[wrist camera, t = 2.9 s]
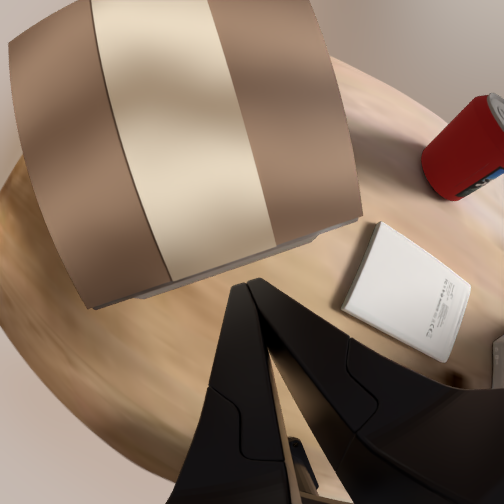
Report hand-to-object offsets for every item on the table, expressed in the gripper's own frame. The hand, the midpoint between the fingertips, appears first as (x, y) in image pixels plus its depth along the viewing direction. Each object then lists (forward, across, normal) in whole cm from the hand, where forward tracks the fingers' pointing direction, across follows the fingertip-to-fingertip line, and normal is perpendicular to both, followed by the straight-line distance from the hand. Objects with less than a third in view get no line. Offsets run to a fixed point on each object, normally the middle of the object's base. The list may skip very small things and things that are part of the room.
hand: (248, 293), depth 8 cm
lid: (+7, +1, -5) cm, 8 cm away
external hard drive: (+7, -14, +13) cm, 21 cm away
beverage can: (+13, -24, +5) cm, 28 cm away
